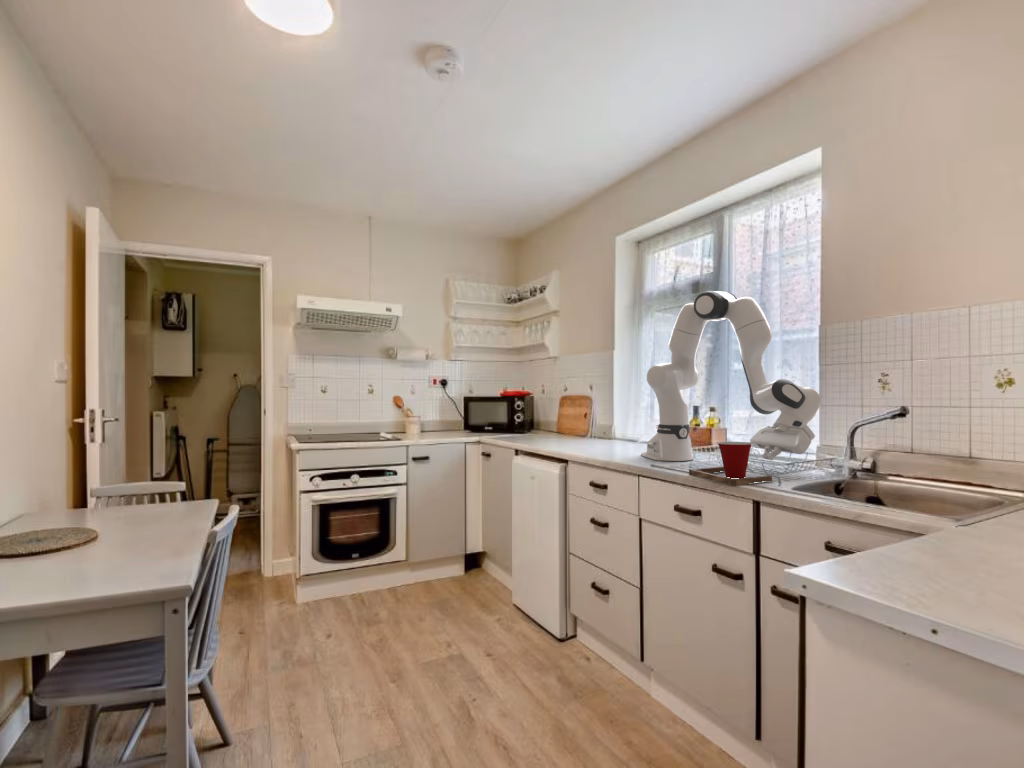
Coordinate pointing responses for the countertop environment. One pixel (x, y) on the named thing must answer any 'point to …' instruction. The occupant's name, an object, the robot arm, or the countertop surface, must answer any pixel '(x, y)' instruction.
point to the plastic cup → (735, 458)
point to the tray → (733, 482)
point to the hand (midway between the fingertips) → (766, 458)
